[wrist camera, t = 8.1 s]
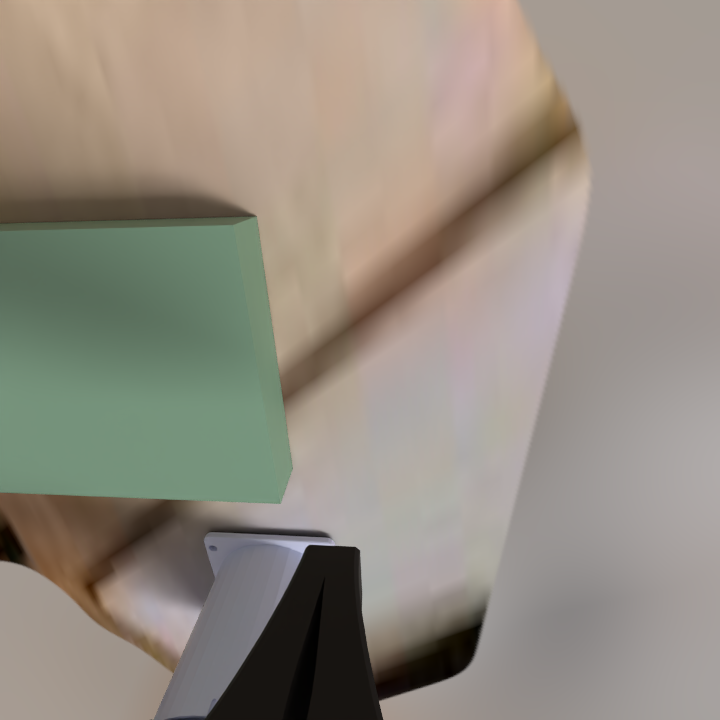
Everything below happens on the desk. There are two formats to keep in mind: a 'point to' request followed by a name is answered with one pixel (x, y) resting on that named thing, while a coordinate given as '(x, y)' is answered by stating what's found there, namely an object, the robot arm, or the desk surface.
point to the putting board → (139, 362)
